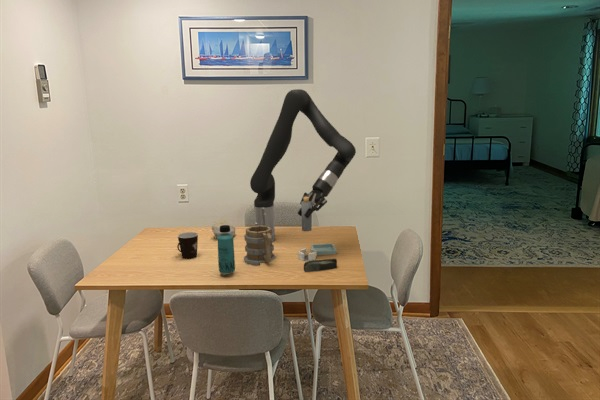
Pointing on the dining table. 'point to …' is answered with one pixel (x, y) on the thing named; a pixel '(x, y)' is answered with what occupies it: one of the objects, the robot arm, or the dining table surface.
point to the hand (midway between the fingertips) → (302, 215)
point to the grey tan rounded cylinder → (305, 206)
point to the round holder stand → (304, 257)
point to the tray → (324, 249)
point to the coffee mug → (188, 245)
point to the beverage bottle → (226, 251)
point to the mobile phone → (320, 265)
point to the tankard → (259, 245)
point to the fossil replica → (217, 228)
